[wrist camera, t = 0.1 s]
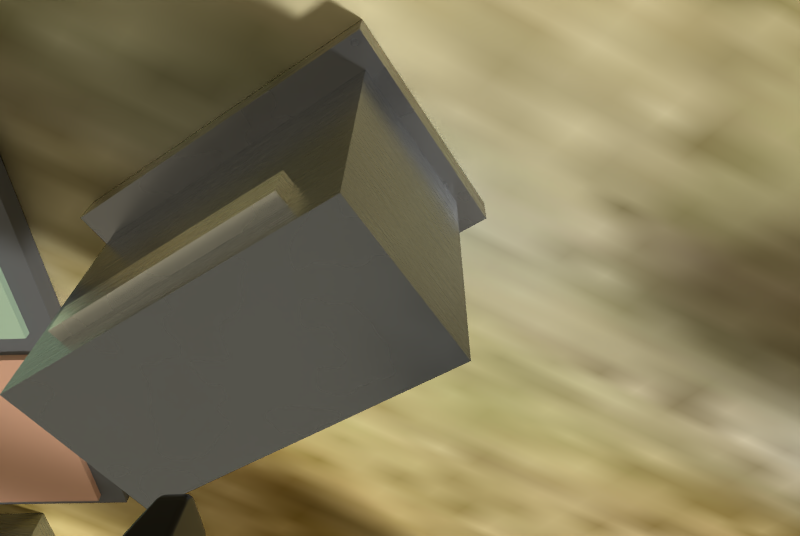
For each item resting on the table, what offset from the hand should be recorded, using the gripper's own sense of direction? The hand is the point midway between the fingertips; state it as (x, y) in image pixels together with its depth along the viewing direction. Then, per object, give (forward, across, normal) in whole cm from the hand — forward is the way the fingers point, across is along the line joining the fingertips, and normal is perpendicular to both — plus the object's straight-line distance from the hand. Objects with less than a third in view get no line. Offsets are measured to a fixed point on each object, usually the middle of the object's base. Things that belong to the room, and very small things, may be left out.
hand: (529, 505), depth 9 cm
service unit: (+14, +6, +3) cm, 16 cm away
